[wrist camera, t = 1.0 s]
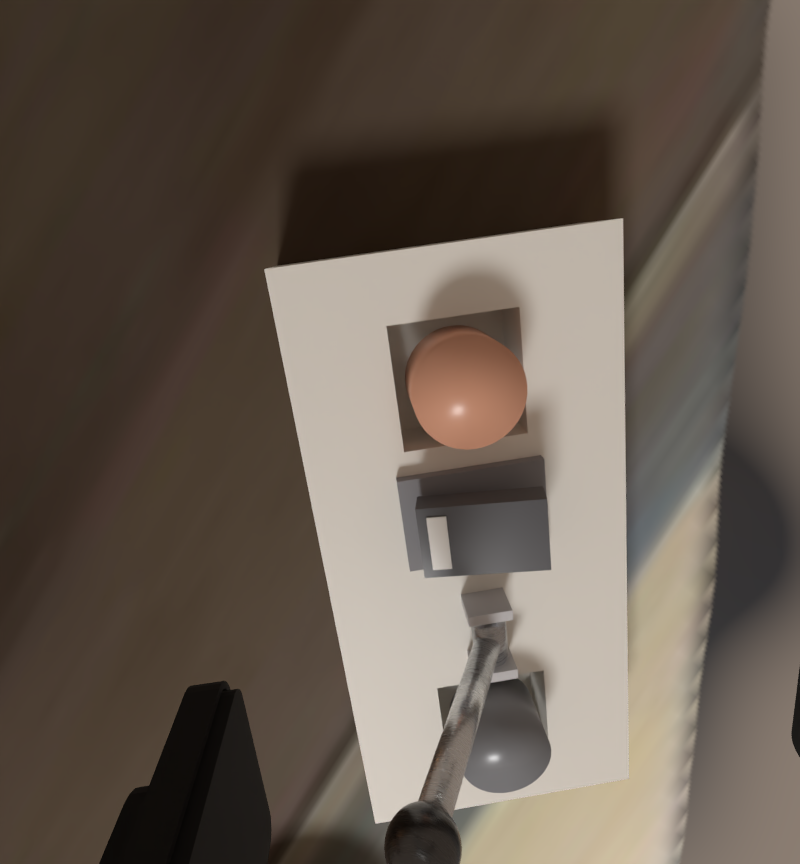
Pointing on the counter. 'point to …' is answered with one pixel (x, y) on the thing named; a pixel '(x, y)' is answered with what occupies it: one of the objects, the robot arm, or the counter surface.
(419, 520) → the black rocker
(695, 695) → the counter surface
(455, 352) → the terracotta button
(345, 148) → the counter surface
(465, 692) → the toggle lever
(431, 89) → the counter surface
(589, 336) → the control panel
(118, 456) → the counter surface
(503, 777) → the charcoal button
